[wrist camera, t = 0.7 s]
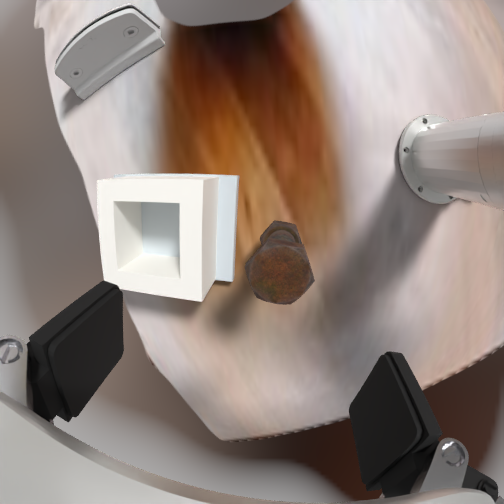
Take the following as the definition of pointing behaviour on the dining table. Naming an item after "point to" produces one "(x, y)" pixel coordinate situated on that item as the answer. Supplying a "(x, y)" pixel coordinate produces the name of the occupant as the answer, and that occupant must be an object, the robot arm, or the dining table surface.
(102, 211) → the socket post
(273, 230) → the bolt
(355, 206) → the dining table surface
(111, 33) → the grey arched bracket
